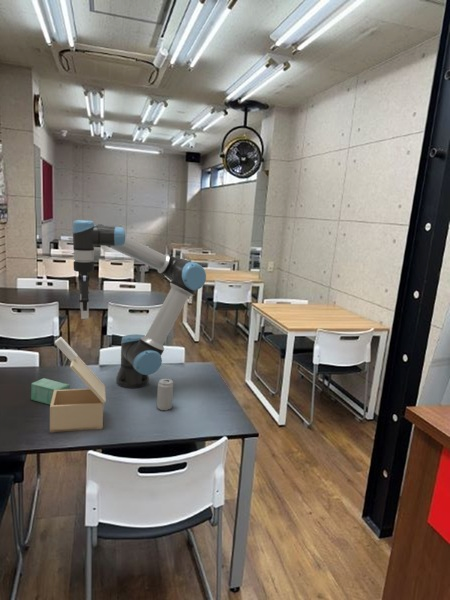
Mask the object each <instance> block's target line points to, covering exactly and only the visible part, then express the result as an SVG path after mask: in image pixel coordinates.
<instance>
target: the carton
mask: <svg viewBox="0 0 450 600" xmlns="http://www.w3.org/2000/svg"><path fill="white" fill-rule="evenodd" d="M103 423H104V403H102V401H101V400H100V399H99V398H98V397H97V396H96V395H95V394H94V393H93V392H92V391H91V389H90V388H72V389H71V388H69V389H65V390H54V392H53V396H52V400H51V404H50V406H49V433H51V434H52V433H65V432H79V431H93V430H103V427H104V426H103Z"/></svg>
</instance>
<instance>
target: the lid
mask: <svg viewBox="0 0 450 600" xmlns="http://www.w3.org/2000/svg"><path fill="white" fill-rule="evenodd" d="M54 345H55V346H56V347H57V348H58V349H59V350H60V351H61V352H62V353H63V355H65V357H66V358H67V360H69V361H70V369H71V370H73V372H74V373H75V374H76V376H77V377H79V379H80V380H81V381H82V382H83V383H84V384H85V385H86V387H88V389H91V391H92V392H93V393H94V394H95V395H96V396H97V397H98V398H99V399H100V400H101V401H102V403H103V404H105V403H106V402H107V401H106V398H107V397H106V385H105V384H104V383H103V382H102V381H101V379H100V378H99V377H98V376H97V375H96V374H95V373H94V371H92V370H91V369H90V367H89V366H88V365H87V364H86V363H85V362H84V361H83V359H81V357H80V356H79V355H78V353H77V352H76V351H75V350H74V349H73V348H72V347H71V345H70V344H69V343H68V342H67V341H66V340H65V339H64V338H63V337H62V336H59V338H57V339H56V340H54Z"/></svg>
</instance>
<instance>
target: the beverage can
mask: <svg viewBox="0 0 450 600" xmlns="http://www.w3.org/2000/svg"><path fill="white" fill-rule="evenodd" d="M156 393H157V394H156V408H157V409H158V410H159V411H163V410H165V411H168V409H169V410H170V409H172V408H173V396H174V395H173V393H174V382H173V380H172V379H171V378H161V379H159V381H158V382H157V392H156Z"/></svg>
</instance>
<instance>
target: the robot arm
mask: <svg viewBox="0 0 450 600" xmlns="http://www.w3.org/2000/svg"><path fill="white" fill-rule="evenodd" d="M94 224H95V222H94V221H93V220H84V219H83V220H82V219H78V220H77V219H76V220H74V221H73V224H72V237H73V238H72V243H73V244H72V245H73V251H71V255H73V272H74V271H75V272H77V273H79V275H78V281H79V282H78V283H79V287H80V289H79V293H80V295H79V296H80V297H79V298H80V299H79V300H78V301H79V303H80V306H79V307H80V316H81V317H80V319H81V320H84V319H85V320H86V319H90V318H89V317H90V315H89V313H90V312H89V311H90V309H89V306H90V305H89V302H90V299H89V294H90V291H89V287H90V278H91V277H90V274H89V275H88V273H91V272H93V271H95V262H94V260H95V246H97V247H98V246H105V247H108V248H110V249H112V250H115V251H116V252H118V253H120V254H122V255H125V256H127V257H129V258H131V259H134V260H136V261H138V262H140V263H142V264H144V265H145V266H149V267H151V268H153V269H155V270H157V273H158V274H160V275H163V276H165V277H166V278H168V279H169V280H171V281H170V283H169V285H170V289H169V291H168V293H167V295H166V297H165V299H164V301H163V303H162V305H161V306H160V309H159V310H158V313H157V314H156V315H155V318H154V320H153V321H152V324H151V325H150V327H149V329H148V330H147V332H146V334H145V335H144V334H134V333H133V334H127V335H124V336H122V337H121V342H120V344H121V347H120V348H121V350H120V367H119V369H118V372H117V375H116V378H115V379H116V380H115V382H116V384H117V385H118V386H119V387H122V388H126V389H140V388H143V387H145V386H147V385H148V384H149V375H152V374H154V373H156V372H157V371H158V370H159V369H160V368H161V366H162V363H163V360H162V359H163V358H162V355H163V353H164V351H165V347H164V343H165V342H166V340H167V338H168V336H169V334H170V333H171V330H172V328H173V327H174V325H175V323H176V321H177V319H178V317H179V315H180V313H181V311H182V310H183V307H184V306H185V304H186V303H187V300H188V298H190V297H193V296H194V295H195V292H196V291H197V290H199V289H202V288H203V286H204V285H205V283H206V280H207V273H206V270H205V268H204V267H203V265H201V264H199V263H197V262H195V261H191V260H187V259H183V258H179V257H176V256H173V255H170V254H168V253H166V254H163V253H161V252H159V251H157V250H155V249H153V248H151V247H148V246H147V245H145V244H144V243H141V242H138V241H137V240H135V239H132V238H130V237H129V236H126V231H125V229H124V227H121V226H120V227H119V226H108V225H104V224H99V223H98V224H95V225H94Z"/></svg>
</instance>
